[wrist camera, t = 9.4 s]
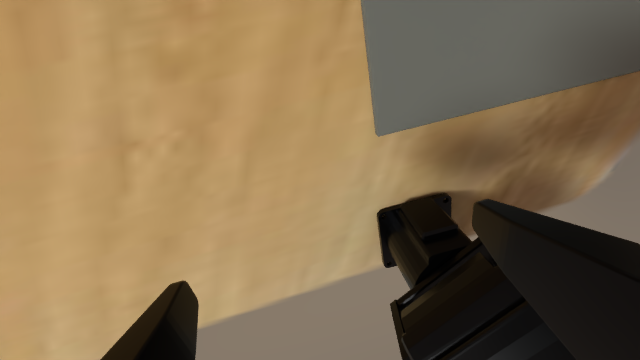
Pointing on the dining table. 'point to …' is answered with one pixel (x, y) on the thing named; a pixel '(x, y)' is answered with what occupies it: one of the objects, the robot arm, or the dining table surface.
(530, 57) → the charcoal mat
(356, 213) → the dining table surface
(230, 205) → the dining table surface
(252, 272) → the dining table surface
